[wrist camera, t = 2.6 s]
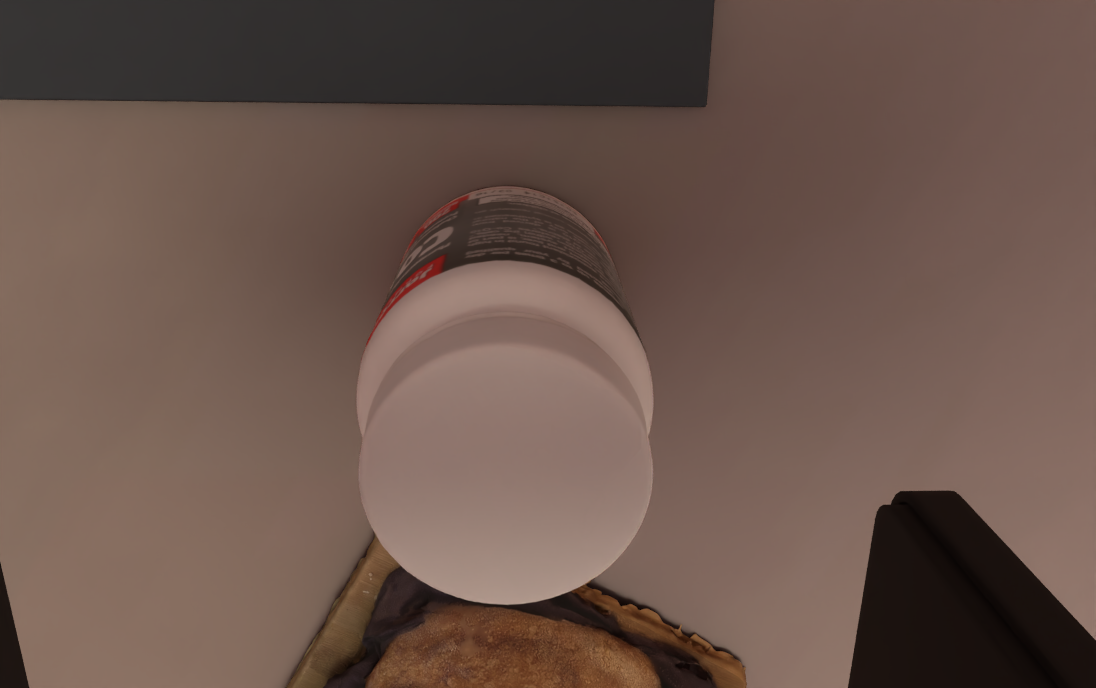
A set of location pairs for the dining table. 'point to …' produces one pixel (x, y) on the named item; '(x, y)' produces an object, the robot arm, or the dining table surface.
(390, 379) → the pill bottle
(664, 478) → the dining table surface
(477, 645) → the bread roll
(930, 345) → the dining table surface
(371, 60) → the mat
